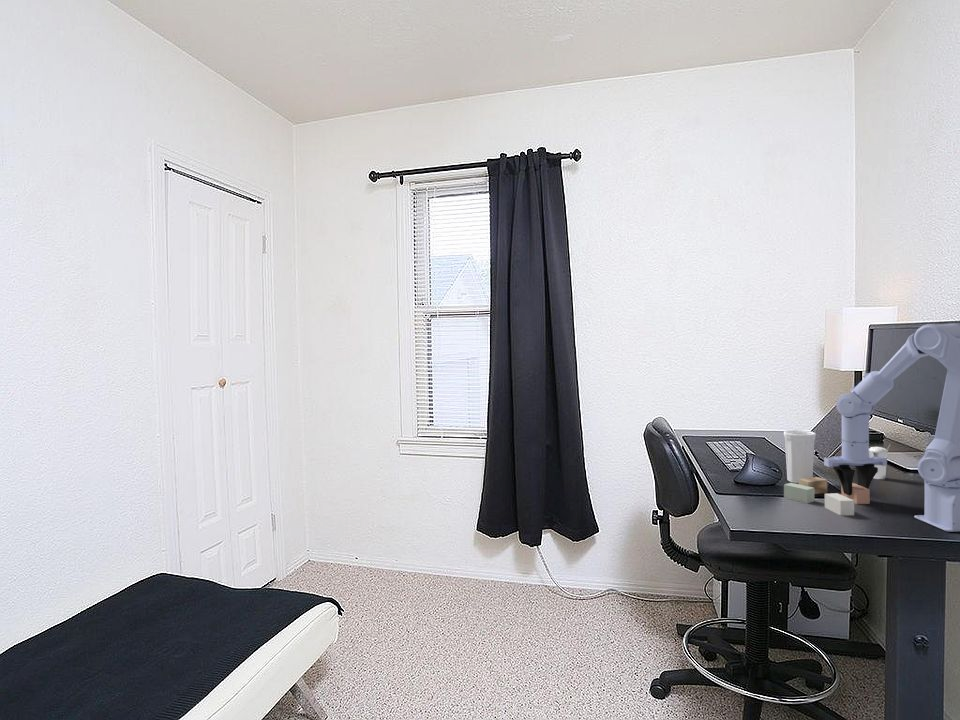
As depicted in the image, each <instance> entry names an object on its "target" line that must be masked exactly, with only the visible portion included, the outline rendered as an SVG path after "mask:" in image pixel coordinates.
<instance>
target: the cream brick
mask: <svg viewBox="0 0 960 720" xmlns="http://www.w3.org/2000/svg"><path fill="white" fill-rule="evenodd" d="M824 508H825V509H827V510H828V511H831V512H833V513H835V514H836V515H839V516H855V503H854V500H852V499H850V498H847V497H845V496H843V495H841V493H838V492H837V493H836V492H835V493H832V492H831V493H824Z"/></svg>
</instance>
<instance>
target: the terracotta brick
mask: <svg viewBox="0 0 960 720" xmlns="http://www.w3.org/2000/svg"><path fill="white" fill-rule="evenodd" d="M840 485H841V487H840V490H841V491H840V495H843V496H845V497H847V498H850V499H852V500H854V505H869V504H870V502H871V499H870V497H871V496H870V495H871V493H870V491H871V490H870V488H868V489H867V488H865V487H862V486H860V485H858V483H855V482H852V495H847V494H845V493H844V492H843V488H842V484H841V483H840Z"/></svg>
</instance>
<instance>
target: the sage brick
mask: <svg viewBox="0 0 960 720" xmlns="http://www.w3.org/2000/svg"><path fill="white" fill-rule="evenodd" d="M783 498H785V499H787V500H792V501H795V502H801V503H804V504H809V503H813V502H815V494H814V488H813V487H809V486H804V485H800V484H799V483H794V482H788V483H785V484H783Z"/></svg>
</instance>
